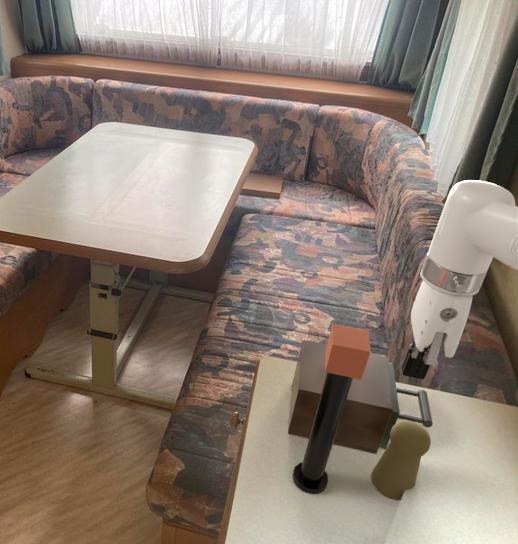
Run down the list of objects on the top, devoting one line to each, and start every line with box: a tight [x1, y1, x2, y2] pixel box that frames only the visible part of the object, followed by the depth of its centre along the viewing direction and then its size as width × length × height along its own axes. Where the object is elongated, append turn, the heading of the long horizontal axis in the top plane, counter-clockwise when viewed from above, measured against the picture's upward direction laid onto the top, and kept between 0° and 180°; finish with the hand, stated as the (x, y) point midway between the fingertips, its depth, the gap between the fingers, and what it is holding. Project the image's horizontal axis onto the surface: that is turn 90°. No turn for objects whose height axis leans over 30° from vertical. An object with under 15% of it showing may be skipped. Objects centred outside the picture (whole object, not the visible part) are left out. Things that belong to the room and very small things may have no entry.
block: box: [325, 323, 371, 380], centre depth 71 cm, size 4×4×4 cm
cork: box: [370, 419, 432, 501], centre depth 82 cm, size 6×6×11 cm
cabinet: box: [287, 339, 393, 455], centre depth 93 cm, size 14×13×10 cm
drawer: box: [379, 362, 434, 450], centre depth 92 cm, size 18×11×8 cm, turn 75°
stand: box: [292, 373, 353, 495], centre depth 78 cm, size 5×5×22 cm
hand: (412, 373), depth 87 cm, fingers closed
